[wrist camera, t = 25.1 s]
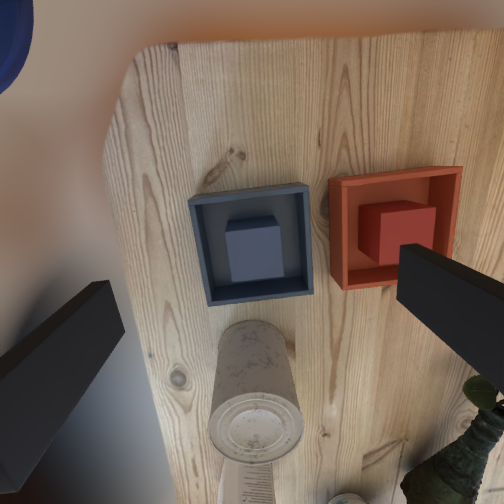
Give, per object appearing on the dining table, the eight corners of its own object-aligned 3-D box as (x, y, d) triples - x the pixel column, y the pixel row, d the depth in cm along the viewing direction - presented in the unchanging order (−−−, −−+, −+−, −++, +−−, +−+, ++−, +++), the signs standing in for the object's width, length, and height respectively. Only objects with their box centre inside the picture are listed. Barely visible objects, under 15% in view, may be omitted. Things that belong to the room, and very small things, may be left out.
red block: (358, 205, 32) (380, 213, 27) (404, 199, 32) (436, 206, 27) (357, 249, 34) (379, 265, 28) (402, 244, 34) (431, 259, 28)
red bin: (328, 178, 31) (341, 181, 27) (433, 165, 31) (463, 166, 27) (330, 275, 35) (342, 290, 31) (424, 264, 35) (449, 278, 31)
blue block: (227, 220, 32) (224, 232, 27) (273, 215, 32) (279, 225, 27) (233, 264, 34) (232, 282, 28) (277, 258, 34) (284, 276, 28)
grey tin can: (204, 352, 38) (187, 435, 27) (249, 306, 36) (252, 375, 25) (254, 387, 40) (259, 478, 29) (299, 346, 38) (324, 426, 27)
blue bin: (194, 194, 31) (187, 199, 27) (299, 182, 31) (308, 185, 27) (212, 289, 35) (207, 307, 31) (305, 278, 35) (314, 294, 31)
